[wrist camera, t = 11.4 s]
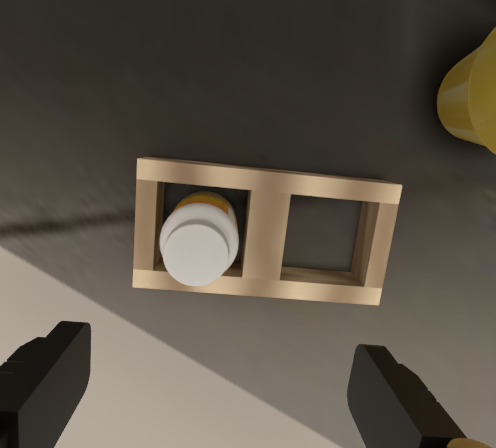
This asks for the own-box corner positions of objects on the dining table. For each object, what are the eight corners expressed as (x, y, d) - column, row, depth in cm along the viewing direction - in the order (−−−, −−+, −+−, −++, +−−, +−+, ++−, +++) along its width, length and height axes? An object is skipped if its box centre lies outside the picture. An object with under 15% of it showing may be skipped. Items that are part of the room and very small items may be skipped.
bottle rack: (142, 271, 32) (132, 287, 28) (147, 156, 30) (137, 158, 26) (363, 288, 33) (378, 305, 30) (383, 180, 31) (402, 185, 28)
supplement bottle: (160, 211, 31) (131, 243, 21) (214, 177, 30) (208, 194, 21) (196, 262, 32) (183, 313, 22) (248, 230, 31) (257, 269, 22)
